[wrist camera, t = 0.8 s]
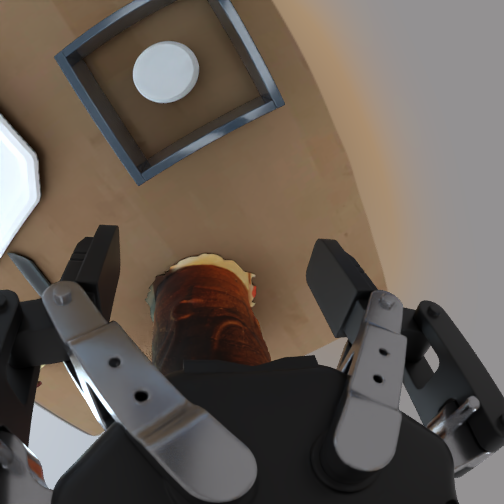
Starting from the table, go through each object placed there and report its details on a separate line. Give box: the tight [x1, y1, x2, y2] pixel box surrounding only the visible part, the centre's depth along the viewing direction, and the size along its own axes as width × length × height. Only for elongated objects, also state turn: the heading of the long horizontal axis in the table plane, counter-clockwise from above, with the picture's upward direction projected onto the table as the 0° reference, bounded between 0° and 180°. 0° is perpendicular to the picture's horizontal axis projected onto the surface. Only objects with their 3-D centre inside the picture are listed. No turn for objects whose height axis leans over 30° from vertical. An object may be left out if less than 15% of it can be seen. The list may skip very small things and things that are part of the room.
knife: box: [7, 253, 50, 298], centre depth 32 cm, size 14×4×1 cm, turn 20°
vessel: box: [145, 254, 271, 376], centre depth 30 cm, size 14×14×20 cm
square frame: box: [54, 0, 285, 186], centre depth 22 cm, size 14×14×4 cm
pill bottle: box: [133, 41, 199, 103], centre depth 20 cm, size 5×5×8 cm
